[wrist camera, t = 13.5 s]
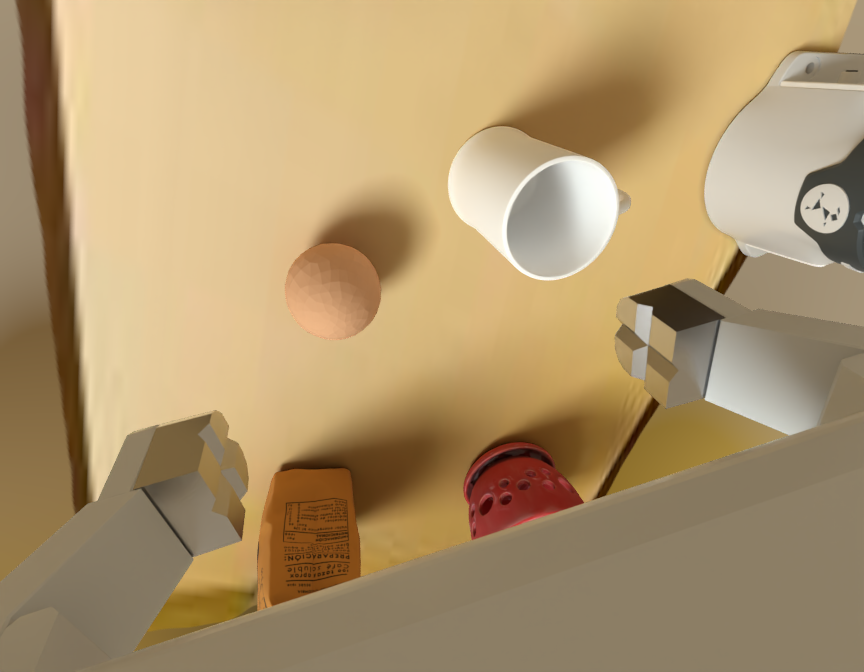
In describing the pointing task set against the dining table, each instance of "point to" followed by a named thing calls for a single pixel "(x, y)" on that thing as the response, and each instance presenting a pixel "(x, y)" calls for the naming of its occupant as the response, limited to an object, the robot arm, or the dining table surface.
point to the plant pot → (514, 488)
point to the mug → (535, 201)
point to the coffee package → (307, 535)
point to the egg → (333, 291)
